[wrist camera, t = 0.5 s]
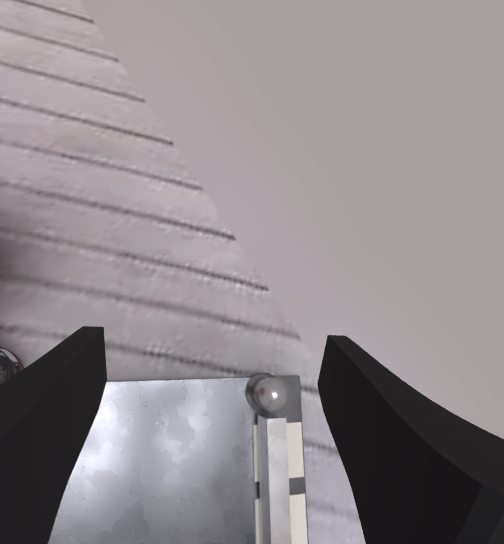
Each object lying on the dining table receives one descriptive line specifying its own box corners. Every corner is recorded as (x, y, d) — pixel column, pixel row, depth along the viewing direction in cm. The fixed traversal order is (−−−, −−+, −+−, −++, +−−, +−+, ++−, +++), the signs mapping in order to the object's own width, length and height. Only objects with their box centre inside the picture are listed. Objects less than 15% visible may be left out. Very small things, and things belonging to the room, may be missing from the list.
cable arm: (253, 415, 37) (265, 420, 33) (278, 413, 37) (292, 418, 34) (257, 584, 33) (271, 610, 30) (285, 579, 34) (302, 604, 30)
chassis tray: (305, 558, 36) (309, 563, 35) (26, 604, 30) (22, 612, 29) (295, 375, 41) (299, 375, 40) (49, 383, 34) (46, 384, 34)
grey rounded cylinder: (281, 411, 38) (298, 416, 34) (245, 413, 37) (257, 419, 33) (280, 372, 39) (296, 372, 35) (244, 373, 38) (256, 374, 34)
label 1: (302, 475, 37) (304, 477, 37) (253, 481, 36) (255, 482, 36) (300, 421, 38) (301, 422, 38) (252, 425, 37) (253, 425, 37)
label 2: (306, 551, 36) (308, 553, 35) (255, 560, 34) (257, 562, 34) (303, 492, 37) (305, 494, 37) (254, 498, 36) (255, 500, 35)
